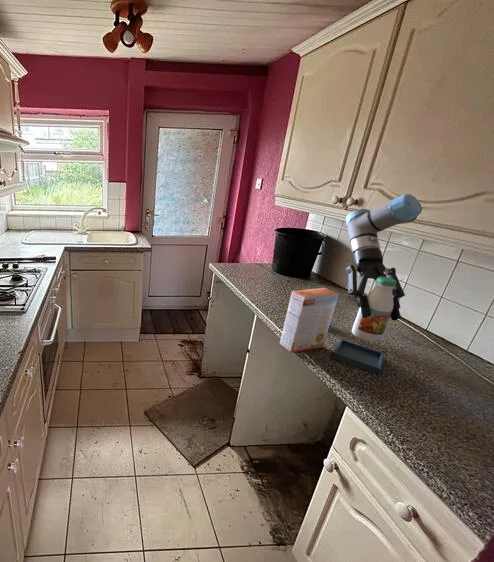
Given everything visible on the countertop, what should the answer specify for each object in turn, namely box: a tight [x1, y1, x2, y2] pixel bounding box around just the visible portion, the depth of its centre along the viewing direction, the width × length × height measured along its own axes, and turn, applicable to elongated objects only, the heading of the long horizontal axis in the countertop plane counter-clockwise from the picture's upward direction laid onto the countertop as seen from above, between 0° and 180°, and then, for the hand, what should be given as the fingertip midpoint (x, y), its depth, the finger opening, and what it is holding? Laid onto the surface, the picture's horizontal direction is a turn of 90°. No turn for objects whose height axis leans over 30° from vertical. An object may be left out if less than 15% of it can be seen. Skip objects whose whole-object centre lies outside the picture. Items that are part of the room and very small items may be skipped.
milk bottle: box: [351, 276, 396, 343], centre depth 97 cm, size 8×8×20 cm
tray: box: [332, 338, 385, 376], centre depth 104 cm, size 12×12×2 cm
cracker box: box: [279, 287, 340, 353], centre depth 106 cm, size 14×6×21 cm, turn 105°
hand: (381, 317), depth 95 cm, fingers closed on milk bottle, 8 cm apart
